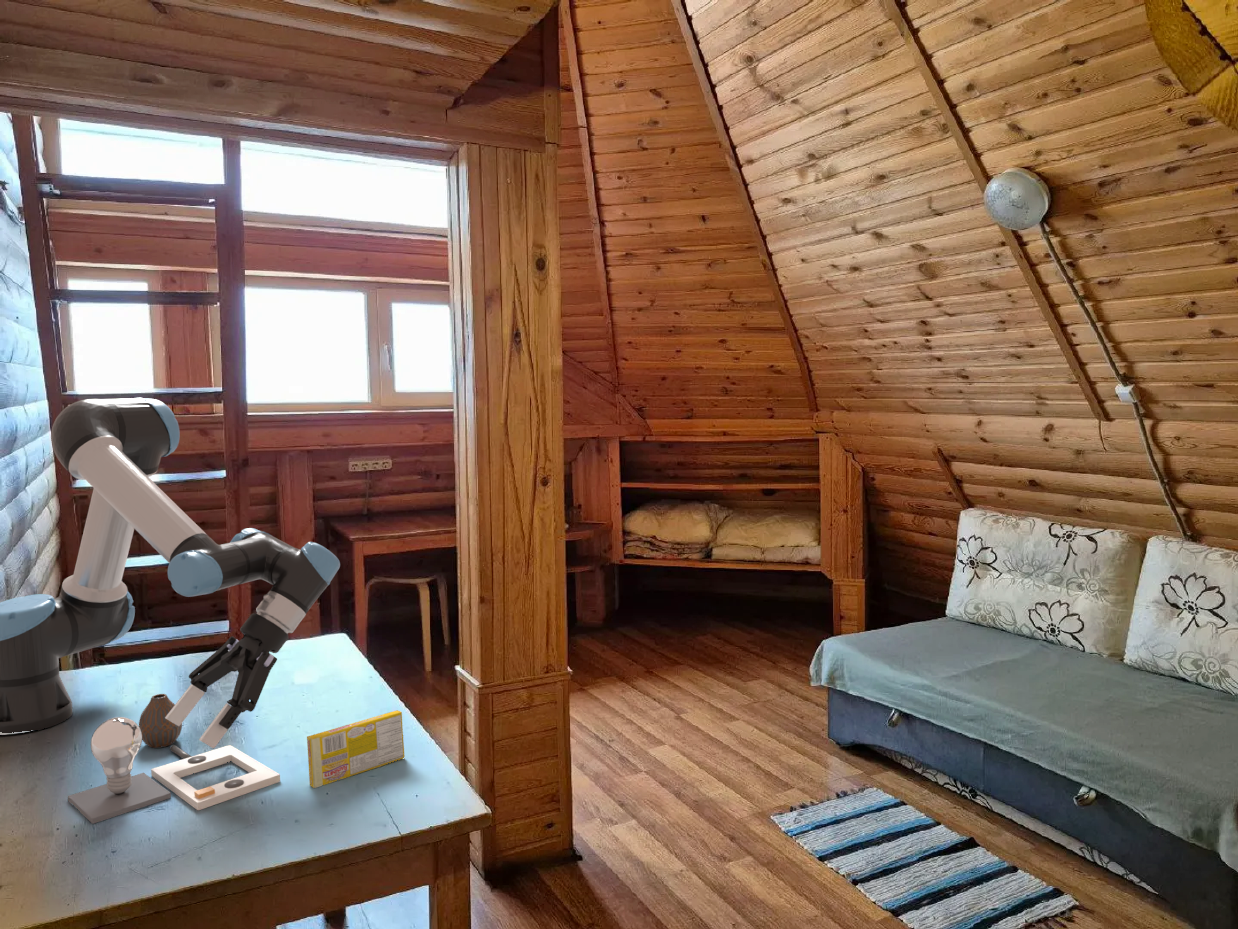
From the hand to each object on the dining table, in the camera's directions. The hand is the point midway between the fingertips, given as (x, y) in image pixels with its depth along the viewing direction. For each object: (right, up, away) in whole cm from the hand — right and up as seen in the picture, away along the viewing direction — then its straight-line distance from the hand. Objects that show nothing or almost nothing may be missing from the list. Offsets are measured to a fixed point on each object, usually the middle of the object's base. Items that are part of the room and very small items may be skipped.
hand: (188, 733), depth 145 cm
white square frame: (+2, -7, +2) cm, 8 cm away
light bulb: (-7, -7, -7) cm, 13 cm away
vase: (-12, -6, +14) cm, 20 cm away
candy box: (+27, -7, +2) cm, 28 cm away
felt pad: (-7, -8, -7) cm, 13 cm away
